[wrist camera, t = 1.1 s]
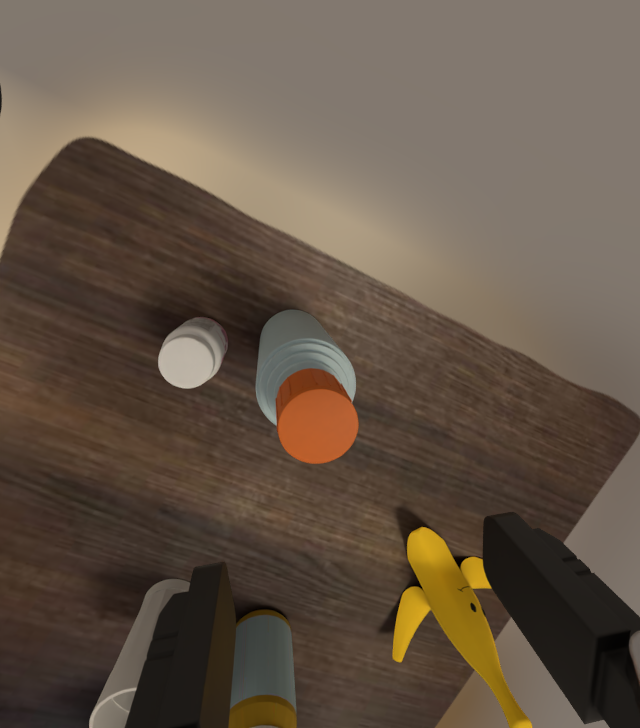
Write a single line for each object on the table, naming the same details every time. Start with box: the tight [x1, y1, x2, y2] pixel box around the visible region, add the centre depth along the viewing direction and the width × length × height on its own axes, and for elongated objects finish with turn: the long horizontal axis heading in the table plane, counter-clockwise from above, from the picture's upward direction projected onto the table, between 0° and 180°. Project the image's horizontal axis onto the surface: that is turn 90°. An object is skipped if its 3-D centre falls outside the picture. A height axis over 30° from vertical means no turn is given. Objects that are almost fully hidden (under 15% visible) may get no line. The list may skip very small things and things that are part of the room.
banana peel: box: [393, 527, 532, 728], centre depth 40 cm, size 16×19×17 cm
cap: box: [275, 368, 358, 464], centre depth 20 cm, size 4×4×4 cm
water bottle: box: [256, 310, 356, 425], centre depth 29 cm, size 6×6×20 cm
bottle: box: [228, 609, 297, 728], centre depth 39 cm, size 7×7×15 cm
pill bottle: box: [158, 317, 228, 388], centre depth 33 cm, size 5×5×8 cm
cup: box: [89, 579, 190, 728], centre depth 38 cm, size 8×8×12 cm
